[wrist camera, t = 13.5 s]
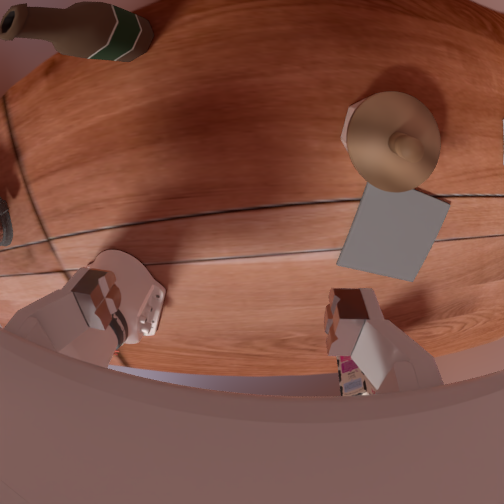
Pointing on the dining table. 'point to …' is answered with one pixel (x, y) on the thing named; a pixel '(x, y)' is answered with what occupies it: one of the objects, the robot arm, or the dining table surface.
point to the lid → (393, 141)
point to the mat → (392, 232)
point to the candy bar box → (353, 378)
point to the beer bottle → (82, 30)
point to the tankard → (5, 224)
